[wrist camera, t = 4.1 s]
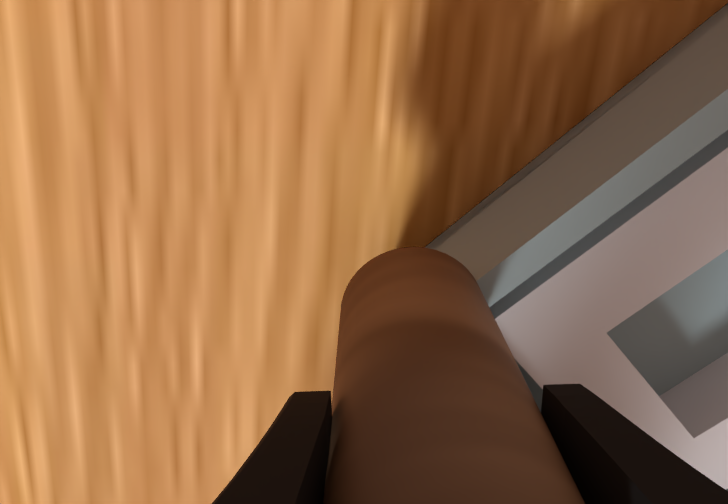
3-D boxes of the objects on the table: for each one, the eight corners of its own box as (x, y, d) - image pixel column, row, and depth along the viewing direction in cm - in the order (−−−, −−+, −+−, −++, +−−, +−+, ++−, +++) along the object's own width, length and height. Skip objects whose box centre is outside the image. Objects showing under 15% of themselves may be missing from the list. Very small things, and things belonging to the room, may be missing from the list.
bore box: (609, 516, 22) (667, 626, 18) (384, 279, 18) (389, 347, 14) (955, 311, 19) (1125, 387, 15) (762, -26, 15) (915, -55, 11)
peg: (405, 399, 15) (447, 769, 7) (311, 310, 14) (245, 625, 6) (512, 318, 14) (692, 640, 6) (420, 217, 13) (500, 450, 5)
